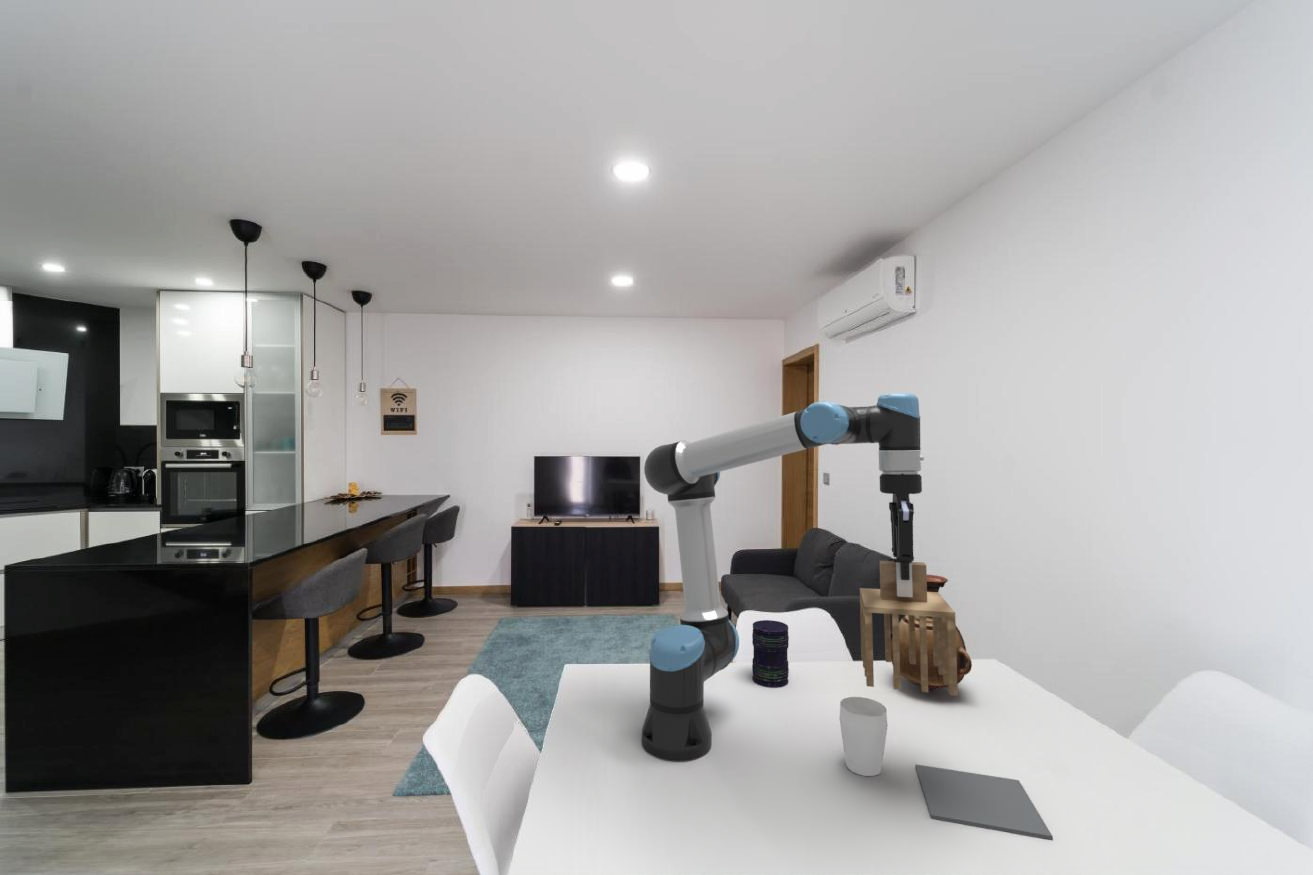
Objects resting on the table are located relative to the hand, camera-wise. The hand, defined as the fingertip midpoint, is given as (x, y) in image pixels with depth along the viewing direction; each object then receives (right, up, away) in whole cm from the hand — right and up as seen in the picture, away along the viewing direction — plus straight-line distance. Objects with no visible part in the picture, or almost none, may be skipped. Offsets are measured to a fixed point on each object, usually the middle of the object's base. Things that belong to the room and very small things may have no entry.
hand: (903, 593), depth 107 cm
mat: (+10, -35, -7) cm, 37 cm away
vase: (+24, -37, +39) cm, 58 cm away
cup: (-7, -36, +3) cm, 36 cm away
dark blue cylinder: (-17, -37, +45) cm, 60 cm away
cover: (0, -16, -1) cm, 16 cm away
